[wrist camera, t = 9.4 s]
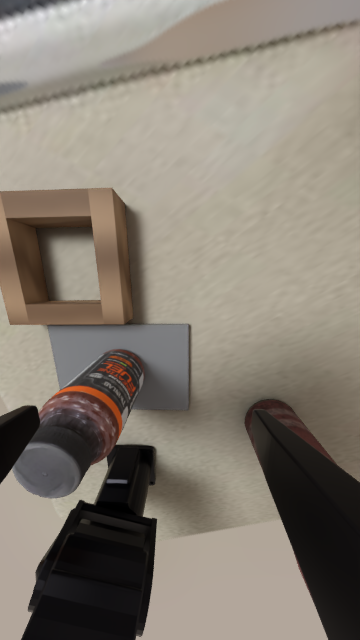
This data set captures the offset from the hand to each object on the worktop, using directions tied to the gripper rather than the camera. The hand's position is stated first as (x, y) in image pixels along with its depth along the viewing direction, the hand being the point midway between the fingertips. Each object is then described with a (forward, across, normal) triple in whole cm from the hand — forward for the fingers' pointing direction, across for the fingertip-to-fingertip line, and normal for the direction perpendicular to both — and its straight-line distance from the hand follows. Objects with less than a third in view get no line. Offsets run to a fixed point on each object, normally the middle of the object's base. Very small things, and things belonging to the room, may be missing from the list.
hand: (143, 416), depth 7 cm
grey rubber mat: (+13, +6, +5) cm, 15 cm away
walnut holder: (+13, +10, -7) cm, 18 cm away
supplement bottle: (+13, +6, +5) cm, 15 cm away
